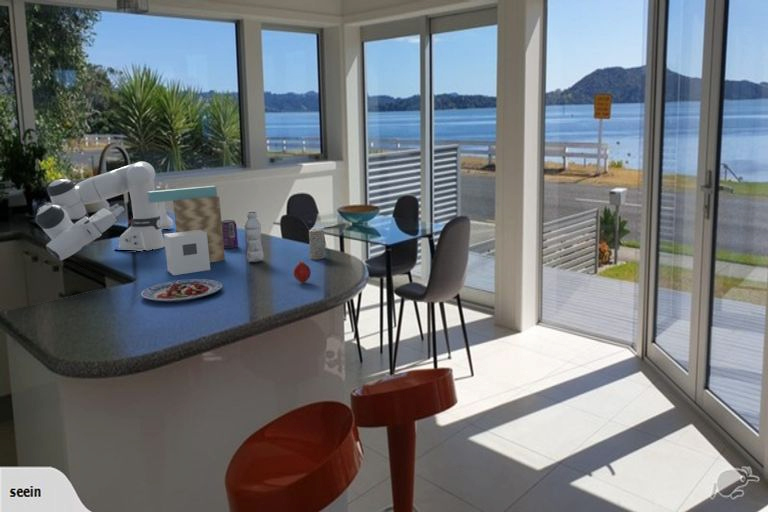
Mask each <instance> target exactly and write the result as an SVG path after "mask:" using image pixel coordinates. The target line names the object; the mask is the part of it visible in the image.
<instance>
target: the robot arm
mask: <svg viewBox="0 0 768 512" xmlns="http://www.w3.org/2000/svg"><path fill="white" fill-rule="evenodd" d="M155 177H156V171H155V168H154V166H153V165H151V164H150V163H149V162H148V161H147V162H146V161H137V162H134V163H131V164H128V165H125V166H122V167H120V168H116V169H114V170H110V171H107V172H105V173H102V174H98V175H94V176H91V177H89V178H86V179H84V180H82V181H80V182H76V181H73V180H71V179H67V178H60V179H55V180H54V181H52V182H51V183H50V184H48V186H47V188H46V191H47V194H48V197H49V198H50V200H51V202H46V203H44V204H43V205H41V206H40V207H38V208H37V211H36V214H35V223H36V224H37V225H38V226H39V227H40V228H41V229H42V230H43V231H44V232H45V234H47V236H48V237H49V238H50V241H49V242H47V243H46V246H45V247H46V250H47V251H48V252H49V254H51V256H52V257H53V258H54V259H56V260H57V261H63V260H65V259H68V258H69V257H71V256H72V255H74V254H76V253H77V252H79V251H80V250H81V249H83V247H85V246H86V245H88V244H91V243H92V242H93V241H95V240H96V239H98V238H100V237H101V236H102V235H103V233H104V232H106V231H107V230H108V229H110V228H111V227H112V226H113V225H114V224H115V223H117V221H118V219H117V217H119V216H120V215H121V213H123V212H124V211H125V208H124V206H122V205H120V204H119V203H115V204H114V205H113V206H110V207H108V208H107V209H106V208H104V207H102V208H101V209H99V210H98V211H96V212H95V213H94V214H92V215H91V216H89V213H88V212H89V211H87V209H86V207H85V205H89V204H95V203H99V202H102V201H103V202H104V201H106V200H108V199H112V198H115V197H118V196H120V195H124V194H126V193H129V195H130V196H129V197H130V201H131V211H132V216H133V218H131V219H130V220H128V224H130V226H129V228H127V229H126V230H125V231H124V232H123V233H122V234H121V235H120V236H119V239H118V242H119V243H118V244H119V245H118V246H119V248H121V249H127V250H138V251H141V252H143V251H142V250H146V251H151V250H152V249H153V250H159V249H163V248H165V241H164V235H163V232H162V230H161V220H160V216H159V202H154V203H150V202H149V201H148V192H149V191H155Z"/></svg>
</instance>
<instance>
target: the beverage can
mask: <svg viewBox="0 0 768 512" xmlns="http://www.w3.org/2000/svg"><path fill="white" fill-rule="evenodd" d="M221 222H222V233H223V243H224V249H234V247H235V248H237V247H238V246H239V240H238V228H237V223H236V220H235V219H225V220H221Z"/></svg>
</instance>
